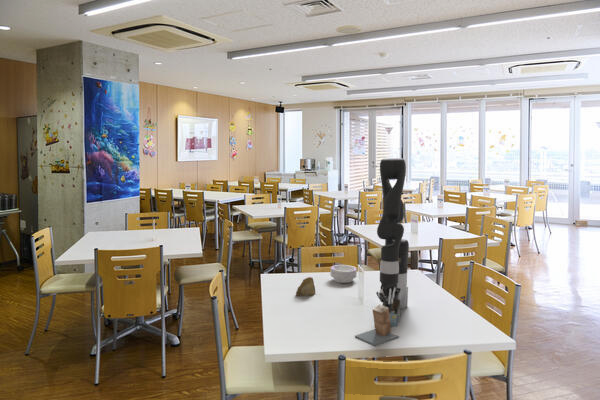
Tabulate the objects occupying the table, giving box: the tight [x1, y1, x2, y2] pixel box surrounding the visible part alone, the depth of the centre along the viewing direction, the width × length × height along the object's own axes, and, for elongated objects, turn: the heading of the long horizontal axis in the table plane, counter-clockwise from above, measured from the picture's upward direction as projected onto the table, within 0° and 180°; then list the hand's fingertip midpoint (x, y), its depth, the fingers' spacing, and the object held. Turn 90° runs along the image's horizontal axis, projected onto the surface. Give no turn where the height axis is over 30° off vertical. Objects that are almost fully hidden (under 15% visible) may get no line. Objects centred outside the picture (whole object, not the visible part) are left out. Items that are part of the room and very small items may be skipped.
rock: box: [295, 276, 316, 297], centre depth 240 cm, size 11×9×10 cm
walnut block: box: [372, 304, 392, 336], centre depth 186 cm, size 4×4×11 cm
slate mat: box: [354, 328, 400, 347], centre depth 185 cm, size 14×11×1 cm
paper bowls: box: [330, 264, 358, 284], centre depth 266 cm, size 15×15×8 cm
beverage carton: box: [381, 300, 401, 327], centre depth 206 cm, size 8×19×7 cm, turn 164°
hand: (388, 312), depth 187 cm, fingers closed
